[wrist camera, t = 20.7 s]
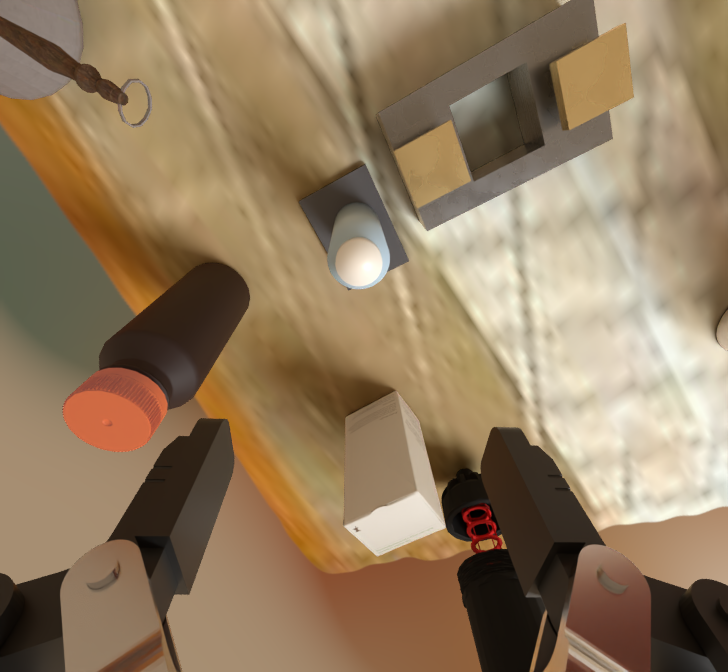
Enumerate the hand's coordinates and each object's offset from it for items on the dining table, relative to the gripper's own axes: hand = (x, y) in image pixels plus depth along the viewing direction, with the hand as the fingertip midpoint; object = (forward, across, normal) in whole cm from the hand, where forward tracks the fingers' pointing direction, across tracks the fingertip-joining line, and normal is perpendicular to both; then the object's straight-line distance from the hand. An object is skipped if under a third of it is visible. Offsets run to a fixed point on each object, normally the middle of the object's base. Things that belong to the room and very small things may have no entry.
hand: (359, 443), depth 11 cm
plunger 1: (+26, -6, -7) cm, 28 cm away
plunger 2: (+27, -16, -13) cm, 33 cm away
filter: (+28, -18, +33) cm, 48 cm away
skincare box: (+28, -5, +24) cm, 37 cm away
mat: (+28, 0, 0) cm, 28 cm away
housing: (+28, -11, -10) cm, 32 cm away
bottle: (+28, +14, +7) cm, 32 cm away
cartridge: (+28, 0, -1) cm, 28 cm away
